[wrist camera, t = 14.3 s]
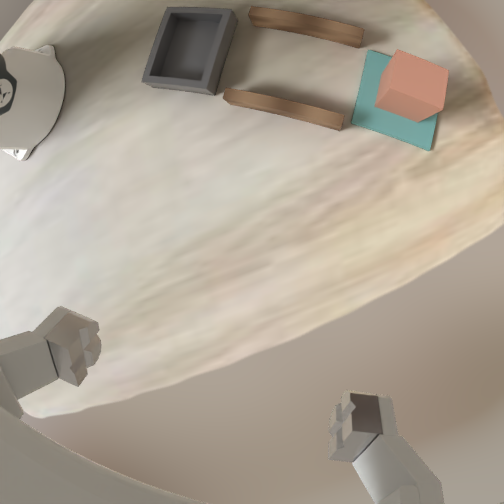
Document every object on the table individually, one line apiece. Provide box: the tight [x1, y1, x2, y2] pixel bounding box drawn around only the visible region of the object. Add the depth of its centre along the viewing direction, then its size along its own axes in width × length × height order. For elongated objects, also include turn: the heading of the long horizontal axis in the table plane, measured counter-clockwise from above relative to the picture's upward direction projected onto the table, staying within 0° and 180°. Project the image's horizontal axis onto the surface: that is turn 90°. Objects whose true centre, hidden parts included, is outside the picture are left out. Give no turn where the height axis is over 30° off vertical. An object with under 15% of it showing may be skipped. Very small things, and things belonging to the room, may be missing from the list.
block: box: [374, 49, 449, 123], centre depth 25 cm, size 5×4×8 cm
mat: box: [351, 50, 438, 151], centre depth 29 cm, size 9×9×1 cm
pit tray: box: [142, 7, 238, 96], centre depth 30 cm, size 8×10×3 cm
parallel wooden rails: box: [223, 6, 364, 131], centre depth 29 cm, size 12×11×3 cm
